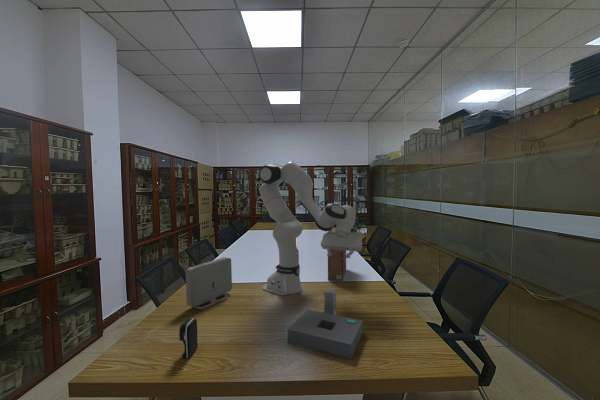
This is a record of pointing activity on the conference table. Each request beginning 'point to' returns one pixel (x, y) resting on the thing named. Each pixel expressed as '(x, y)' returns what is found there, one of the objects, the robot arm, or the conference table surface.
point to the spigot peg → (330, 301)
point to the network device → (208, 282)
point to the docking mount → (327, 333)
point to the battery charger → (189, 337)
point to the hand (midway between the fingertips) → (338, 256)
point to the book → (336, 263)
